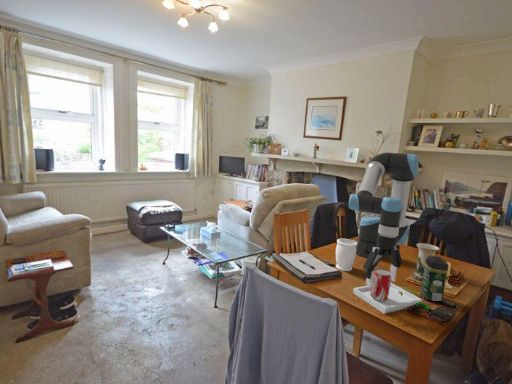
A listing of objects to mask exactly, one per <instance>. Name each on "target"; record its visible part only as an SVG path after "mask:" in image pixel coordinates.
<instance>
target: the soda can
mask: <svg viewBox="0 0 512 384" xmlns="http://www.w3.org/2000/svg"><path fill="white" fill-rule="evenodd" d="M390 282H391V283H392V281H391V276H390V271H388V270H385V269H382V268H378V269H376V270H375V272H374V276H373V283H372V287H371V294H370V295H371V297H373V299H375V300H377V301H386V300H387V299H388V295H389V289H390Z"/></svg>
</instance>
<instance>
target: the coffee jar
mask: <svg viewBox="0 0 512 384" xmlns="http://www.w3.org/2000/svg"><path fill="white" fill-rule="evenodd" d="M448 271H449V264H448V263H447V262H446V260H444V259H443V258H441V256H438V255H429V256H426V258H425V262H424V270H423V275H422V281H421V286H420V294H421V296H422V297H423V296H424V297H425V298H428V299H430V300H434V301H442V302H443V300H444V299H443V298H444V293H445V292H444V291H445V286H446V279H447V275H448ZM424 297H423V298H424ZM425 298H424V299H425Z"/></svg>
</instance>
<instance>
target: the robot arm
mask: <svg viewBox="0 0 512 384" xmlns="http://www.w3.org/2000/svg"><path fill="white" fill-rule="evenodd" d="M418 156H419V155H417V154H413V153H403V152H402V153H401V152H389V151H388V152H387V151H386V152H381V153H379V154H376V155H375V156H373V157H372V158H370V159H369V160H368V161H367V163H366V166H365V169H364V170H365V173H364V176H363V178H362V180H361V183H360V186H359V188H358V191H357V193H351V194H350V196H349V199H348V209H349V210H350V211H351V210H353V211H356V212H363V213H368V214H375V215H380V216H364V217H362V218H361V220H360V223H359V231H358V233H359V234H358V238H357V241H356V242H357V246H356V256H357V255H358V256H359V257H361V258H362V257H363V258H366V259H365V260H366V261H364V265H363V267H362V269H363V270H365V271H366V274H365V278H366V279H365V285H366V286H367V285H368V286H370V287H372V283H373V276H374V272H373V270H374V268H375V267H376V268H377V265H378V264H379V263H380V261H381V260H383V259H384V258H388V259H389V261H390V262H391V264H390V266H389V267H390V268H389V273H390V276H391V282H393V283H395V282H396V278H397V273H398V269H400V268H401V267H402V265H403V260H402V257H401V252H400V245H404V244H405V243H406V241H407V240H408V236H409V235H408V234H409V233H410V232H409V231H410V227H411V226H410V225H408V221H407V220H406V216H407V207H408V201H409V194H410V187H411V183H412V182H413V181H415V178H417V177H419V157H418ZM384 174H385V175H389V177H390V179H391V180H392V185H391V186H392V187H391V193H390V194H391V195H390V196H384V197H379V196H375V195H376V192H377V189H378V186H379V182H380V180H381V176H383V175H384Z"/></svg>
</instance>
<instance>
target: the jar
mask: <svg viewBox="0 0 512 384" xmlns="http://www.w3.org/2000/svg"><path fill="white" fill-rule="evenodd" d="M336 243H337V244H336V247H335V261H336V264H335V267H336V268H337V269H338V270H339V271H342V272H350V271H352V270H353V268H352V267H353V265H354V263H355V260H356V256H357V254H356V246H357V241H355V240H353V239H350V238H337V240H336Z"/></svg>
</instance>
